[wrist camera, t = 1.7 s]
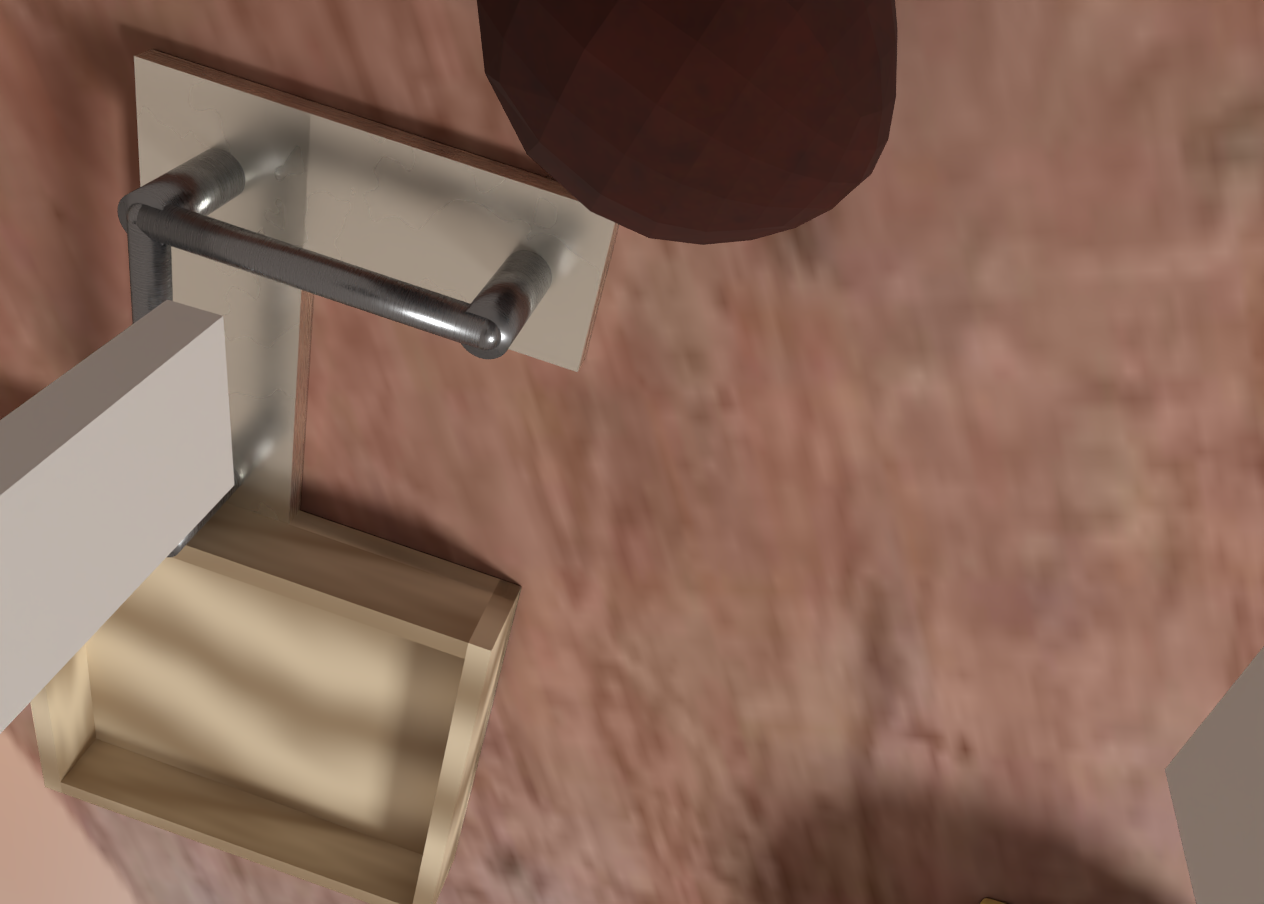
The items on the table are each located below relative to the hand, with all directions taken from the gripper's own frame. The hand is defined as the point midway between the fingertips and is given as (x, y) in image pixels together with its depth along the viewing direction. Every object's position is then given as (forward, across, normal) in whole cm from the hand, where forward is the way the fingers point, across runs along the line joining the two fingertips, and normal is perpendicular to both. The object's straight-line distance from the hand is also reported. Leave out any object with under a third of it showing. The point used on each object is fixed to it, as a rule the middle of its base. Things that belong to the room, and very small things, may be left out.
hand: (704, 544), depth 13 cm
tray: (+15, -15, -26) cm, 33 cm away
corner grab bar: (+15, -12, -10) cm, 22 cm away
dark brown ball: (+16, -3, +3) cm, 16 cm away
